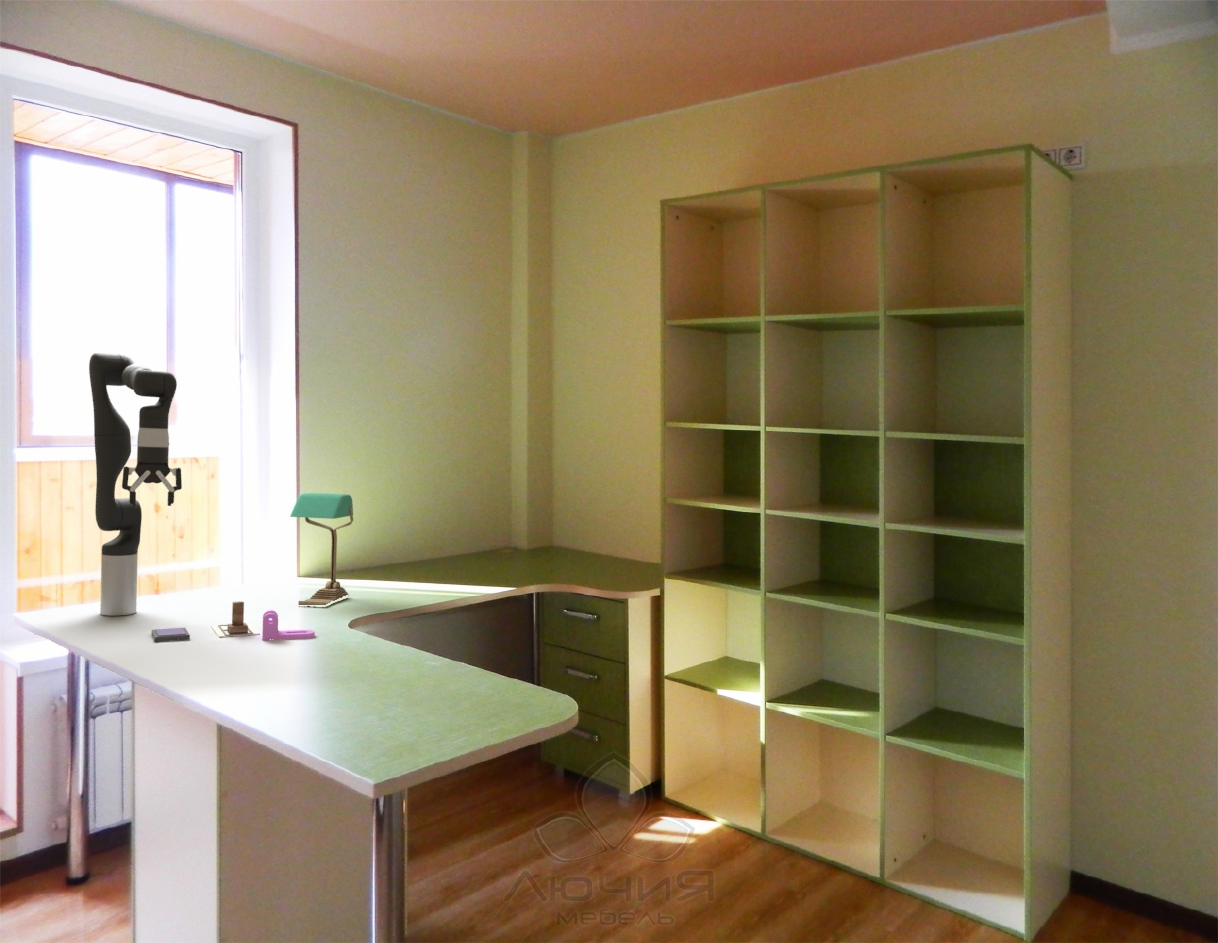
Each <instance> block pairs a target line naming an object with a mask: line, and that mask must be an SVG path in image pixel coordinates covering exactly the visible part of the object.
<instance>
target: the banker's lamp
mask: <svg viewBox="0 0 1218 943" xmlns="http://www.w3.org/2000/svg"><path fill="white" fill-rule="evenodd" d="M353 505H354V504H353V498H352V496H351V495H350V494H345V493H327V492H326V493H325V492H324V493H322V492H304V493H302V494H300V495H299V496H298V497H297V499H296V502H295V505H294V506H293V509H292V511H291V513H290V515H289V516H290V517H291V518H304V520H305V522H306V524H310V525H313V526H316V527H318V528H319V527H320V528H323V529H326V530H329V531H330V533H331V534H330V535H331V549H330V550H331V554H330V580H329V581H327V582H326V584H325V587H323V588H320V589H318V590H317V591H316V592H315V593H314V594H313V595H311V597H310V598H308V599H305V600H298V605H326V604H328V603H330V602H331V601H335V600H337V599H339V598H342V597H343V596H346V595H348V596H349V593H348V592H347V591H346V589H345V588H344V587H343V586H341V583H340V581H337V555H338V554H337V551H338V550H337V548H338V545H337V544H338V543H337V542H338V534H337V530H339V529H342V528H345V527H349V526H351V525H352V524H353V522H354V506H353ZM346 517H349V519H350V520H349V522H346V523H344V524H342V525H339V526H336V528H334V529H333V528H332V527H331V526H328V525H326V524H323V523H320V522H318V521H314V520H312V518H313V519H332V520H333V519H340V518H346Z"/></svg>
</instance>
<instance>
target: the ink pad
mask: <svg viewBox="0 0 1218 943" xmlns="http://www.w3.org/2000/svg"><path fill="white" fill-rule="evenodd" d="M152 636H153V637H152ZM190 636H191V634H190V633H189V631H188V629H187V628H186V627H172V628H171V627H170V628H159V629H157V628H156V629H155V628H154V629H151V637H152V639H153V638H154V639H153V640H154V643H158V642H157V641H162V642H172V641H171V640H176V641H186V640H187V639H190V640H191V638H190ZM185 639H186V640H185ZM169 640H170V641H169ZM187 641H188V640H187Z"/></svg>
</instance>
